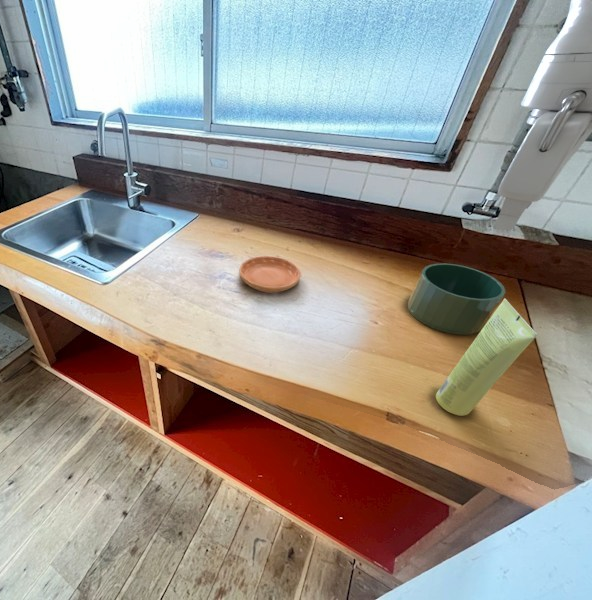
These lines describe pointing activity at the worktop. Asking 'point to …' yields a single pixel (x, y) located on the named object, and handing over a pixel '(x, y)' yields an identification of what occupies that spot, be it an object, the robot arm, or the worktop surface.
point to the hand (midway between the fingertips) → (511, 216)
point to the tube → (485, 360)
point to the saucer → (269, 273)
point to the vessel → (455, 298)
